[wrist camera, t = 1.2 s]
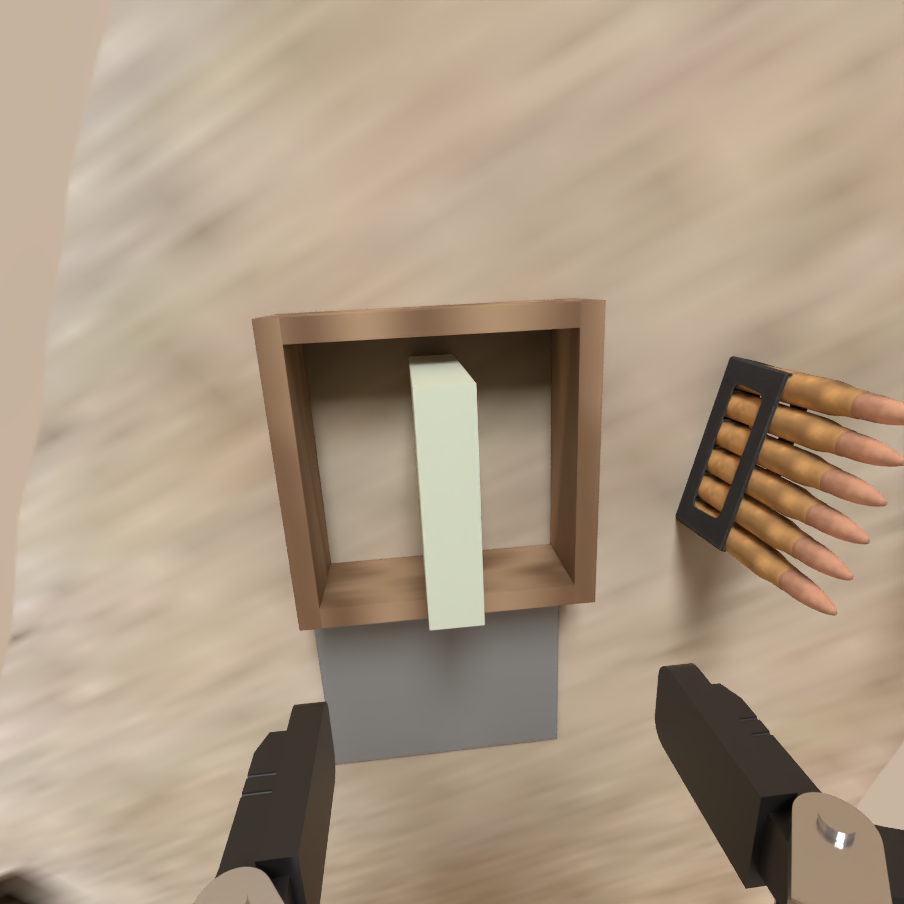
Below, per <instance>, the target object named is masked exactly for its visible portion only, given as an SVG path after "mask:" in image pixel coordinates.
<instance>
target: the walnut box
mask: <svg viewBox="0 0 904 904" xmlns="http://www.w3.org/2000/svg"><path fill="white" fill-rule="evenodd" d="M605 303H606V300H592V299H554V300H535V301H517V302H498V303H479V304H460V305H441V306H422V307H404V308H385V309H366V310H347V311H328V312H309V313H291V314H275V315H270V316H265V317H260V318H255V319H252V325H253V331H254V338H255V344H256V351H257V357H258V364H259V370H260V377H261V383H262V390H263V396H264V403H265V409H266V416H267V422H268V429H269V435H270V442H271V448H272V455H273V461H274V468H275V474H276V480H277V487H278V493H279V500H280V506H281V513H282V519H283V526H284V532H285V539H286V545H287V552H288V558H289V565H290V571H291V578H292V584H293V591H294V597H295V604H296V610H297V617H298V623H299V630H300V631H301V630H312V629H322V628H332V627H343V626H353V625H363V624H373V623H384V622H394V621H404V620H415V619H425V618H429V617H428V606H427V595H426V583H425V572H424V561H423V556H413V557H402V558H390V559H379V560H368V561H356V562H345V563H334V564H331V561H330V553H329V546H328V538H327V530H326V522H325V514H324V507H323V499H322V491H321V483H320V476H319V468H318V460H317V452H316V445H315V437H314V429H313V421H312V414H311V406H310V398H309V390H308V382H307V375H306V367H305V359H304V351H303V344H302V343H320V342H337V341H355V340H372V339H389V338H407V337H424V336H442V335H459V334H477V333H494V332H512V331H529V330H546V329H552V388H551V538H550V544H549V545H538V546H526V547H515V548H504V549H492V550H482V558H483V587H484V613H487V612H497V611H507V610H518V609H528V608H538V607H548V606H559V605H569V604H579V603H590V602H595V588H596V560H597V531H598V503H599V474H600V445H601V417H602V388H603V360H604V331H605Z"/></svg>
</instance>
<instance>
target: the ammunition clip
mask: <svg viewBox="0 0 904 904" xmlns="http://www.w3.org/2000/svg"><path fill="white" fill-rule="evenodd" d="M760 396H761V397H762V398H760ZM779 401H781V402H785V403H788V404H790V407H789V406H786V405H783V404H780V403H779ZM807 409H809V410H813V411H816V412H820V413H823V414H827V415H833V416H846V417H851V418H855V419H862V420H866V421H870V422H874V423H880V424H887V425H904V403H901V402H899V401H897V400H894V399H891V398H888V397H885V396H882V395H878V394H874V393H871V392H868V391H865V390H861V389H858V388H855V387H853V386H851V385H849V384H847V383H844V382H841V381H837V380H832V379H828V378H823V377H818V376H814V375H809V374H804V373H800V372H795V371H791V370H786V369H781V368H778V367H774V366H771V365H768V364H764V363H761V362H757V361H752V360H748V359H743V358H738V357H734V356H732V357H730V359H729V362H728V365H727V368H726V371H725V374H724V377H723V380H722V383H721V385H720V388H719V391H718V394H717V397H716V400H715V403H714V406H713V409H712V412H711V415H710V417H709V420H708V423H707V426H706V429H705V432H704V435H703V438H702V441H701V444H700V446H699V449H698V452H697V455H696V458H695V461H694V464H693V467H692V470H691V473H690V475H689V478H688V481H687V484H686V487H685V490H684V493H683V496H682V499H681V502H680V505H679V507H678V510H677V513H676V518H677V520H678V521H680V522H681V523H683V524H684V525H685V526H687V527H688V528H690V529H691V530H692V531H694V532H695V533H697V534H698V535H699V536H701V537H702V538H704V539H705V540H706V541H708V542H709V543H711V544H712V545H713V546H715V547H716V548H718V549H719V550H720V551H725V552H726V551H727V552H728V553H730V554H731V555H732V556H733V557H735V558H736V559H737V560H739V561H740V562H741V563H742V564H744V565H745V566H746V567H747V568H749V569H750V570H751V571H753V572H754V573H755V574H756V575H758V576H759V577H761V578H763V579H765V580H767V581H769V582H771V583H773V584H774V585H776V586H777V587H778V588H780V589H781V590H784V591H785V592H786V593H788V594H789V595H790V596H792V597H793V598H794V599H796V600H798V601H799V602H801V603H803V604H804V605H806V606H808V607H810V608H812V609H815V610H817V611H819V612H822V613H825V614H829V615H837V610H836V608H835V606H834V604H833V602H832V601H831V600H830V599H829V597H828V596H827V595H826V594H825V593H824V592H823V591H822V590H821V589H820V588H819V587H818V586H817V585H816V584H815V583H814V582H813V581H812V580H811V579H809V578H808V577H807V576H805V575H804V574H803V573H801V572H800V571H799V570H798V569H797V568H796V567H794V566H793V565H792V564H791V563H789V562H788V560H787V559H786V558H785V557H784V556H783V555H782V554H781V553H780V552H779V551H777V550H776V549H779V550H781V551H784V552H786V553H787V554H789V555H791V556H792V557H794V558H796V559H798V560H800V561H801V562H803V563H804V564H806V565H808V566H809V567H811V568H813V569H815V570H817V571H819V572H821V573H824V574H826V575H829V576H832V577H835V578H838V579H842V580H853V575H852V573H851V571H850V570H849V568H848V567H847V566H846V565H845V564H844V563H843V561H841V560H840V559H839V558H838V557H837V556H836V555H835V554H834V553H833V552H832V551H830V550H829V549H828V548H826V547H825V546H824V545H822V544H821V543H819V542H818V541H816V540H814V539H813V538H812V537H811V536H809V535H808V534H806V533H805V532H803V531H802V530H801V529H800V528H799V527H798V526H797V525H796V524H795V523H794V522H793V521H791V520H790V519H788V518H786V517H785V516H787V517H790V518H793V519H796V520H799V521H801V522H803V523H805V524H807V525H809V526H812V527H814V528H816V529H818V530H819V531H821V532H824V533H826V534H828V535H831V536H833V537H835V538H838V539H841V540H844V541H848V542H852V543H857V544H868V543H870V539H869V537H868V536H867V534H866V533H865V532H864V531H863V530H862V529H861V528H860V527H859V526H858V525H857V524H856V523H855V522H854V521H852V520H851V519H850V518H848V517H847V516H845V515H844V514H842V513H841V512H839V511H838V510H836V509H834V508H832V507H830V506H828V505H827V504H826V503H824V502H822V501H821V500H819V499H817V498H815V497H814V496H813V495H812V494H811V493H809V492H808V491H807V490H806V489H804V488H802V487H800V486H798V485H796V484H794V483H792V482H790V481H788V480H786V479H784V478H782V477H781V476H783V477H785V478H787V479H789V480H791V481H794V482H796V483H798V484H801V485H804V486H809V487H813V488H816V489H819V490H821V491H823V492H826V493H829V494H832V495H834V496H836V497H839V498H841V499H844V500H847V501H850V502H853V503H857V504H862V505H867V506H886V505H887V501H886V499H885V498H884V496H883V495H882V494H881V493H880V492H879V491H877V490H876V489H875V488H874V487H872V486H871V485H870V484H868V483H867V482H865V481H863V480H862V479H860V478H858V477H856V476H854V475H852V474H850V473H847V472H845V471H843V470H841V469H840V468H838V467H836V466H834V465H831V464H829V463H828V462H827V461H825V460H824V459H822V458H821V457H820V456H818V455H816V454H813V453H811V452H808V451H806V450H803V449H801V448H798V447H796V446H793V444H794V443H796V444H799V445H802V446H804V447H807V448H809V449H812V450H815V451H821V452H829V453H832V454H835V455H838V456H841V457H846V458H849V459H852V460H855V461H858V462H862V463H866V464H871V465H878V466H888V467H893V466H903V465H904V458H903V457H902V456H901V455H900V454H899V453H898V452H897V451H895V450H894V449H892V448H891V447H889V446H888V445H886V444H884V443H882V442H880V441H878V440H876V439H873V438H871V437H869V436H866V435H863V434H860V433H857V432H856V431H853V430H851V429H848V428H845V427H843V426H841V425H840V424H838V423H836V422H835V421H833V420H830V419H828V418H825V417H822V416H819V415H815V414H812V413H809V412H806V411H807ZM749 426H751V427H752V429H751V428H749ZM767 433H770V434H773V435H775V436H778V437H779V438H778V439H776V438H774V437H771V436H769V435H767ZM738 455H739V456H738ZM740 456H741V457H740ZM756 464H758V465H760V466H762V467H764V468H766V469H767V470H766V469H764V468H762V467H760V466H758V465H756ZM771 508H772V509H771ZM773 509H774V510H773ZM776 511H777V512H776ZM778 512H779V513H778ZM780 513H781V514H783V515H785V516H783V515H781V514H780ZM773 547H774V548H773ZM775 548H776V549H775Z"/></svg>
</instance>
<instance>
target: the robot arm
mask: <svg viewBox="0 0 904 904" xmlns="http://www.w3.org/2000/svg"><path fill="white" fill-rule="evenodd" d="M655 724H656V730H657V734H658V737H659V740H660V742H661V744H662V746H663V748H664V750H665V751H666V753H667V755H668V757H669V758H670V760H671V762H672V763H673V765H674V767H675V768H676V770H677V772H678V774H679V775H680V777H681V779H682V780H683V782H684V784H685V786H686V787H687V789H688V791H689V792H690V794H691V796H692V797H693V799H694V801H695V803H696V804H697V806H698V808H699V809H700V811H701V813H702V815H703V816H704V818H705V820H706V821H707V823H708V825H709V826H710V828H711V830H712V832H713V833H714V835H715V837H716V838H717V840H718V842H719V844H720V845H721V847H722V849H723V850H724V852H725V854H726V855H727V857H728V859H729V861H730V862H731V864H732V866H733V867H734V869H735V871H736V873H737V874H738V876H739V878H740V879H741V881H742V883H743V885H744V886H745V888H746V889H747V888H754V887H760V886H767V887H768V889H769V890H770V892H771V893H772V895H773V897H774V898H775V901H774V904H904V830H900V829H894V828H888V827H883V826H878V825H874V824H873V823H872V822H871V821H870V820H869V819H868V818H867V817H866V816H865V815H864V814H863V813H862V812H861V811H859V810H858V809H857V808H855V807H854V806H852V805H851V804H849V803H847V802H845V801H844V800H842V799H839V798H837V797H835V796H832V795H828V794H824V793H822V792H821V791H820V790H819V789H818V788H817V787H816V786H815V784H814V783H813V782H812V781H811V780H810V778H809V777H808V776H807V775H806V774H805V773H804V771H803V770H802V769H801V768H800V767H799V766H798V764H797V763H796V762H795V761H794V760H793V758H792V757H791V756H790V755H789V754H788V753H787V751H786V750H785V749H784V748H783V747H782V745H781V744H780V743H779V742H778V741H777V740H776V738H775V737H774V736H773V735H770V733H769V730H768V729H767V728H766V727H765V725H764V724H763V723H762V722H761V721H760V720H758V719H757V716H756V715H755V714H754V712H753V711H752V710H751V709H750V708H749V707H748V705H747V704H746V703H745V702H744V701H743V699H742V698H740V697H739V696H737V695H736V694H735V693H733V692H732V691H730V690H729V689H727V688H726V687H724V686H723V685H721V684H711V683H710V682H709V681H708V679H707V678H706V677H705V676H704V675H703V673H702V672H701V671H700V670H699V668H698V667H697V666H696V665H694V664H692V663H690V664H680V665H671V666H663V667H661V668H660V670H659V675H658V687H657V698H656V710H655ZM334 784H335V753H334V745H333V737H332V730H331V723H330V715H329V708H328V704H327V702H317V703H308V704H299V705H294V706H293V709H292V712H291V716H290V720H289V724H288V728H287V731H278V732H270V733H269V734H268V735H267V737H266V738H265V739H264V741H263V742H262V743H261V745H260V746H259V747H258V748H257V750H256V751H255V752H254V755H253V759H252V762H251V765H250V769H249V772H248V778H247V779H246V782H245V785H244V788H243V791H242V798H240V801H239V805H238V808H237V811H236V814H235V818H234V821H233V824H232V828H231V831H230V834H229V837H228V841H227V844H226V847H225V851H224V854H223V857H222V860H221V864H220V867H219V870H218V872H217V875H216V877H215V879H214V880H213V881H212V882H210V883H209V884H208V885H207V886H206V887H205V888H204V889H203V890H202V892H201V893H200V894H199V895H198V897H197V898H196V900H195V901H194V903H193V904H320V898H321V890H322V882H323V873H324V865H325V857H326V849H327V841H328V833H329V825H330V817H331V809H332V800H333V792H334Z"/></svg>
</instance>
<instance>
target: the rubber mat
mask: <svg viewBox="0 0 904 904" xmlns="http://www.w3.org/2000/svg"><path fill="white" fill-rule="evenodd" d="M484 615H485V625H480V626H470V627H460V628H450V629H440V630H430V629H429V618H425V619H415V620H404V621H394V622H384V623H373V624H363V625H353V626H343V627H332V628H322V629H315V636H316V643H317V650H318V657H319V664H320V671H321V678H322V685H323V691H324V698H325V702H327V704H328V708H329V715H330V723H331V730H332V737H333V745H334V753H335V764H343V763H352V762H361V761H369V760H378V759H386V758H395V757H404V756H412V755H421V754H429V753H438V752H447V751H455V750H464V749H472V748H481V747H490V746H498V745H507V744H515V743H524V742H533V741H541V740H550V739H557V701H558V618H559V606H548V607H538V608H528V609H518V610H507V611H497V612H487V613H484Z"/></svg>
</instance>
